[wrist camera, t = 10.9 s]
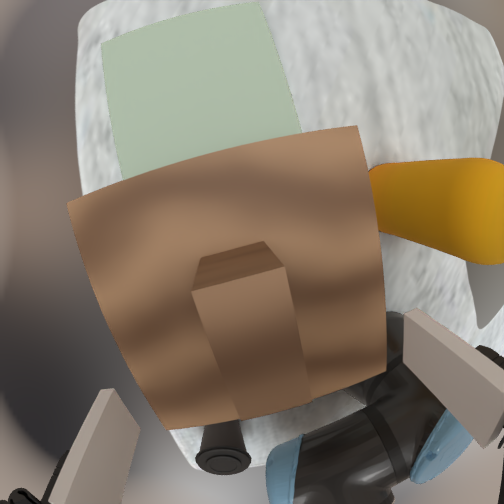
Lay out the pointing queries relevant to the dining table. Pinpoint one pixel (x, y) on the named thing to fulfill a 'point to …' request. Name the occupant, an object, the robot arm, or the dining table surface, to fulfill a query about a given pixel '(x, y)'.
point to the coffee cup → (223, 449)
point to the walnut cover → (241, 276)
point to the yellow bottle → (444, 205)
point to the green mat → (195, 87)
